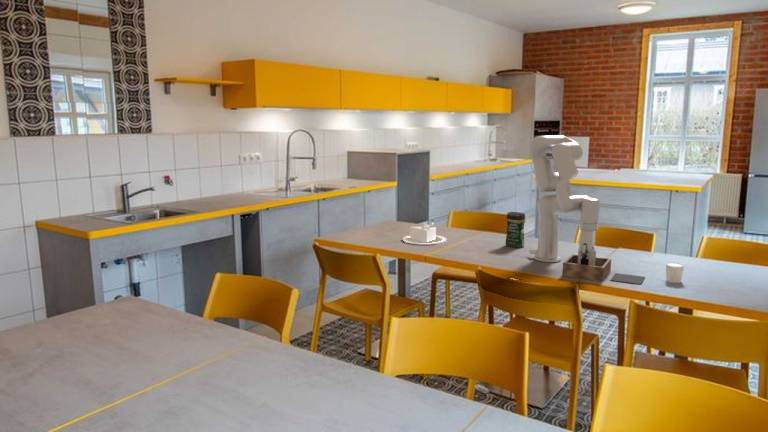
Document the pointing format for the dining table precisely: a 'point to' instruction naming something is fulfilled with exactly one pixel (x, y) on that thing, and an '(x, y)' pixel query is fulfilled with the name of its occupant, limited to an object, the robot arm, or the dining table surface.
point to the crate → (587, 269)
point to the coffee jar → (515, 229)
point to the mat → (628, 278)
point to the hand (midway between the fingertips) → (586, 265)
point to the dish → (423, 235)
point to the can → (591, 257)
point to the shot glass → (674, 272)
